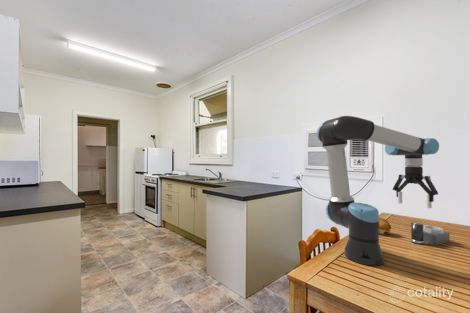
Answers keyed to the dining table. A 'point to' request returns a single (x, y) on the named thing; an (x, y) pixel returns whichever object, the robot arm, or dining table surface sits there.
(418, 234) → the lens
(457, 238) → the dining table surface
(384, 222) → the orange brown stemmed fruit
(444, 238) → the block
